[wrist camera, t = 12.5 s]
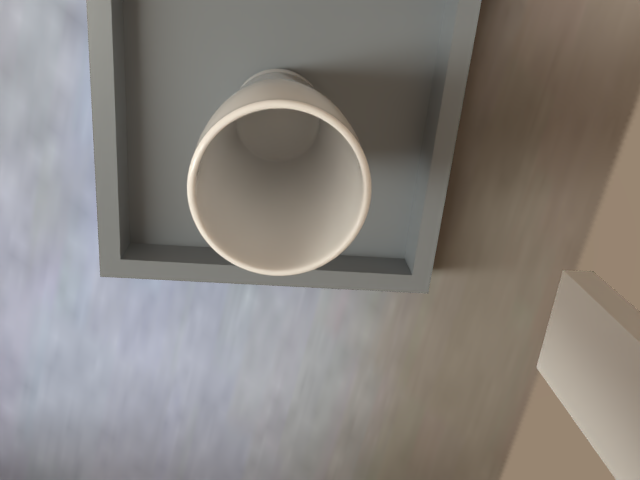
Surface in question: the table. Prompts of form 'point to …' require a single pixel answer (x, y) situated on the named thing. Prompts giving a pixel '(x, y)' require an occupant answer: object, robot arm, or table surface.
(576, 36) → the table surface
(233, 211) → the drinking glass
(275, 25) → the tray
